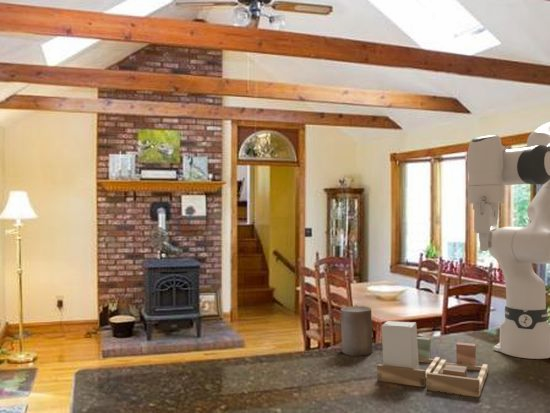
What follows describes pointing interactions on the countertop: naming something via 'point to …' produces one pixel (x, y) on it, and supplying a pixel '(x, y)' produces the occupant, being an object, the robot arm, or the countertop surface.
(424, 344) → the frame
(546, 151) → the robot arm
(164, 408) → the countertop surface
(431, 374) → the frame
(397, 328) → the skincare box
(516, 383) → the countertop surface
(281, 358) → the countertop surface
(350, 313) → the pillar candle
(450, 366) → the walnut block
